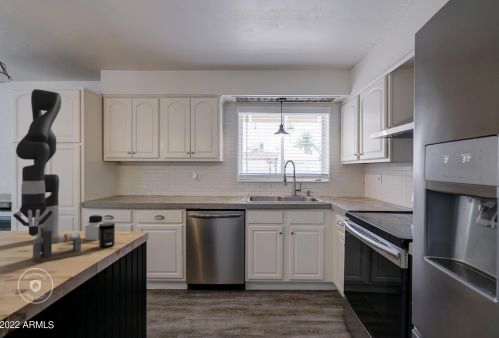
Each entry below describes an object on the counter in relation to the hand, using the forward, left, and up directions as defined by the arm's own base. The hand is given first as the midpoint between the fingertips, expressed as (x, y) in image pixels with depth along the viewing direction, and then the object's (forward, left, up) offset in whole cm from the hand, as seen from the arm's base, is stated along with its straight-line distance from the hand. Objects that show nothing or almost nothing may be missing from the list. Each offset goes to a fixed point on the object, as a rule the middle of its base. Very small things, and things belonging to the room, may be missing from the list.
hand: (33, 235), depth 113 cm
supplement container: (-3, +28, -10) cm, 30 cm away
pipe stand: (0, +8, -10) cm, 13 cm away
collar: (0, +4, -8) cm, 9 cm away
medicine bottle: (-22, +28, -10) cm, 37 cm away
